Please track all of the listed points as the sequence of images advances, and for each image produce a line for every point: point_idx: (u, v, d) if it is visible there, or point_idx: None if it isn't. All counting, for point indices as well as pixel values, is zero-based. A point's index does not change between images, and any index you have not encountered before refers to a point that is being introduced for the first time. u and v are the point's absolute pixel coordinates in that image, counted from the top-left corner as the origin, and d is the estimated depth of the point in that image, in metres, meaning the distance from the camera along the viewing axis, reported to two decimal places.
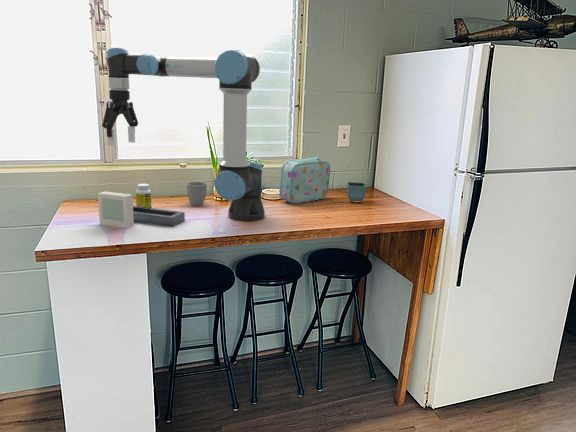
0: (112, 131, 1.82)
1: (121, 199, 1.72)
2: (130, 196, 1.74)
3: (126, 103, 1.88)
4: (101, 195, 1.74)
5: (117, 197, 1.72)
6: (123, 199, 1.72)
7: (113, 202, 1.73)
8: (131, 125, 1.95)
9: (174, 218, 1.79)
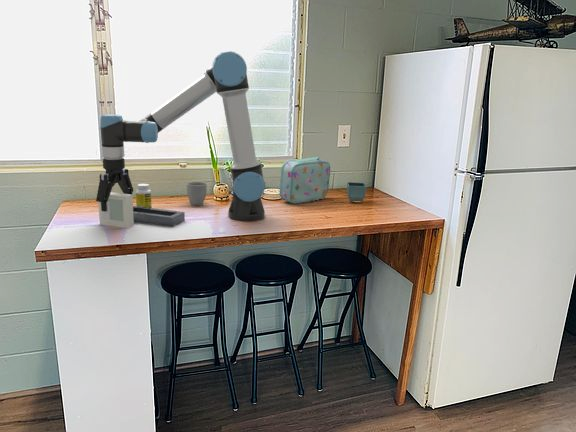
0: (107, 205, 1.69)
1: (121, 199, 1.72)
2: (130, 196, 1.74)
3: (121, 171, 1.75)
4: None
5: (117, 197, 1.72)
6: (123, 199, 1.72)
7: (113, 202, 1.73)
8: (126, 193, 1.81)
9: (174, 218, 1.79)
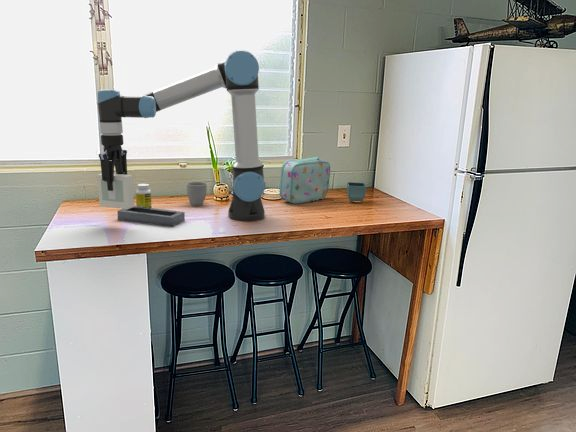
0: (113, 184, 1.70)
1: (121, 180, 1.70)
2: (130, 177, 1.72)
3: (120, 147, 1.72)
4: (100, 176, 1.72)
5: (117, 178, 1.70)
6: (123, 179, 1.70)
7: None
8: None
9: (174, 218, 1.79)
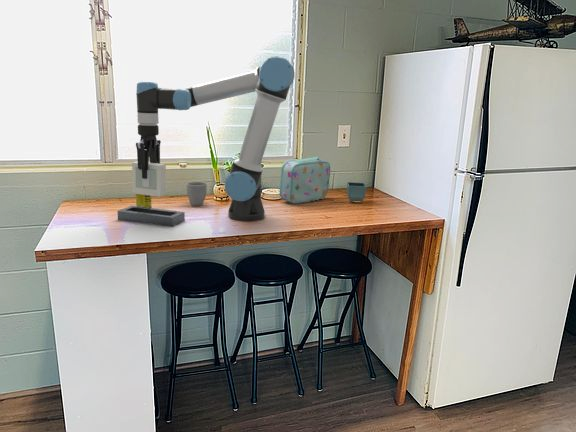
0: (147, 172, 1.78)
1: (155, 168, 1.77)
2: (163, 165, 1.79)
3: (155, 137, 1.80)
4: (135, 164, 1.79)
5: (151, 166, 1.78)
6: (157, 168, 1.77)
7: None
8: None
9: (174, 218, 1.79)
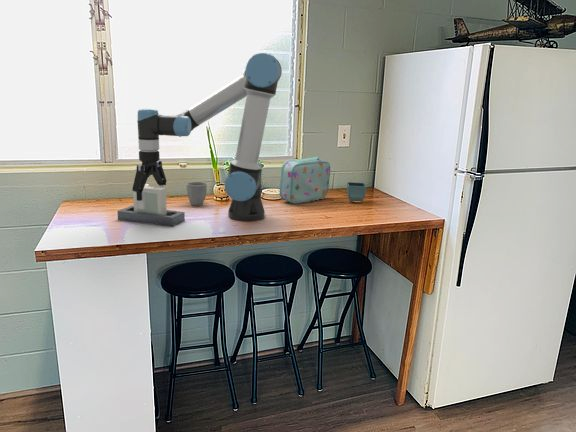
0: (142, 194, 1.76)
1: (156, 192, 1.80)
2: (164, 190, 1.82)
3: (155, 163, 1.82)
4: None
5: (152, 191, 1.80)
6: (158, 192, 1.79)
7: (148, 195, 1.81)
8: (159, 184, 1.89)
9: (174, 218, 1.79)
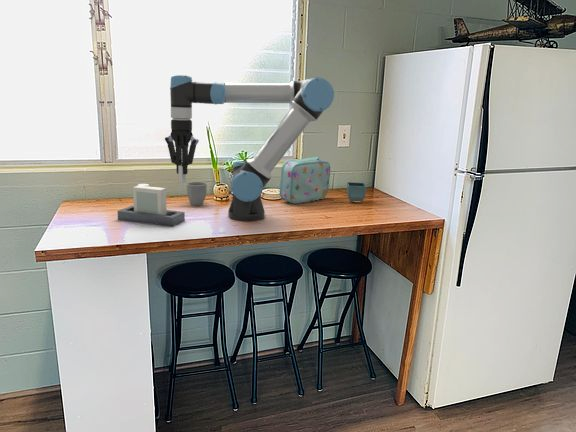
0: None
1: (156, 192, 1.80)
2: (164, 190, 1.82)
3: (187, 134, 1.71)
4: (136, 189, 1.82)
5: (152, 191, 1.80)
6: (158, 192, 1.79)
7: (148, 195, 1.81)
8: None
9: (174, 218, 1.79)
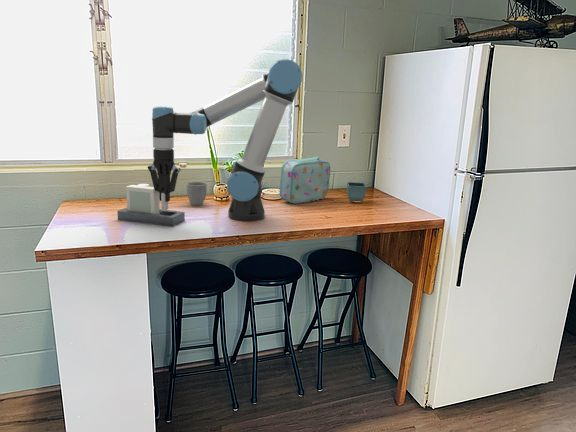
0: None
1: (149, 192, 1.80)
2: None
3: (169, 163, 1.76)
4: (129, 188, 1.82)
5: (145, 190, 1.81)
6: (150, 192, 1.80)
7: (141, 195, 1.82)
8: None
9: (174, 218, 1.79)
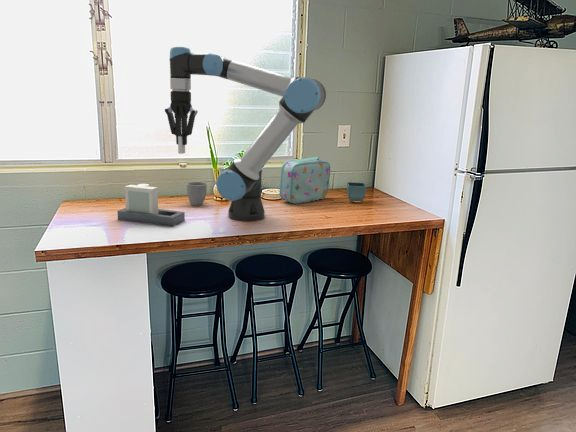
0: None
1: (147, 192, 1.80)
2: (155, 189, 1.82)
3: (186, 105, 1.76)
4: (128, 188, 1.83)
5: (143, 190, 1.81)
6: (149, 192, 1.80)
7: (140, 195, 1.82)
8: None
9: (174, 218, 1.79)
